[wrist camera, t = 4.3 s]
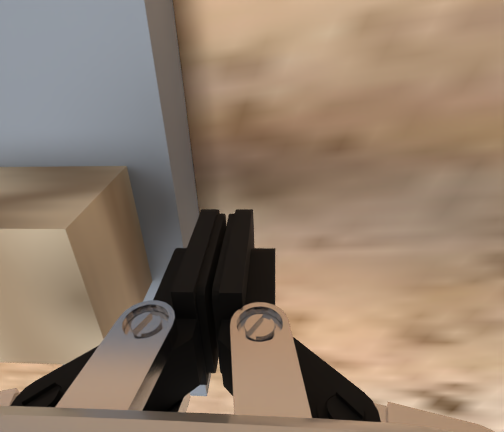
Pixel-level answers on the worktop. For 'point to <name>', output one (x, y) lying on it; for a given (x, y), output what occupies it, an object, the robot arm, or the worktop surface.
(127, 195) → the maple block
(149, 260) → the trap board
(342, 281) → the worktop surface
